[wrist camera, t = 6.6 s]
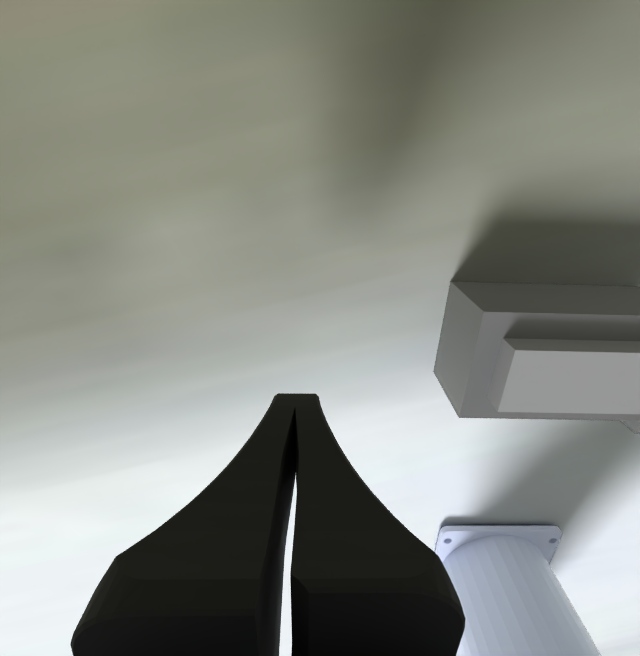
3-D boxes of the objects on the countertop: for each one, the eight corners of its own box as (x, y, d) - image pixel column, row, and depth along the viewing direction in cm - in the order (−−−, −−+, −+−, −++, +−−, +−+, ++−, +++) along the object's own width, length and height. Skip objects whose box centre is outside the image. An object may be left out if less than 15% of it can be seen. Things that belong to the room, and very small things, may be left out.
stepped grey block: (597, 373, 20) (679, 436, 16) (432, 369, 20) (467, 433, 15) (632, 284, 18) (740, 328, 13) (448, 279, 18) (495, 322, 13)
